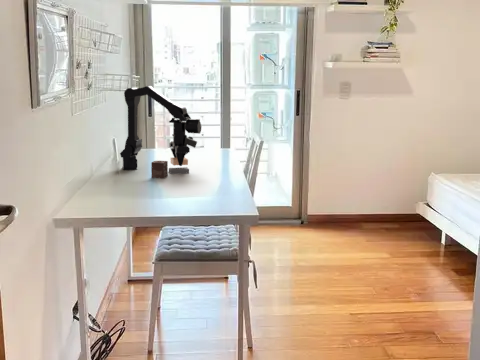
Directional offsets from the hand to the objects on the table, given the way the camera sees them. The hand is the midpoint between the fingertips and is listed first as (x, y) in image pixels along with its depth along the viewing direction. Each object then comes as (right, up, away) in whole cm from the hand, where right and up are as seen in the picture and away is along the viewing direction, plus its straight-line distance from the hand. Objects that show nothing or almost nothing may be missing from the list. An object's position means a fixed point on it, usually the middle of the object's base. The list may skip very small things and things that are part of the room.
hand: (179, 164), depth 262 cm
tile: (0, 0, 0) cm, 0 cm away
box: (-8, -6, -11) cm, 15 cm away
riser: (0, -4, +1) cm, 4 cm away
